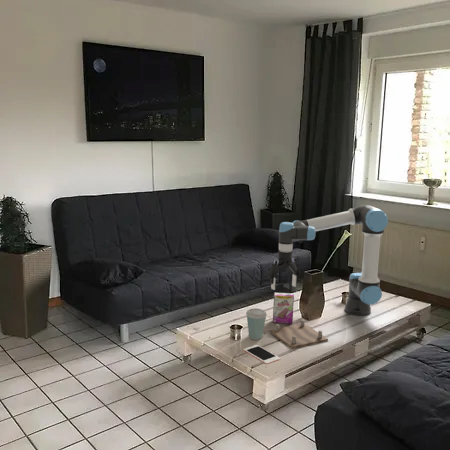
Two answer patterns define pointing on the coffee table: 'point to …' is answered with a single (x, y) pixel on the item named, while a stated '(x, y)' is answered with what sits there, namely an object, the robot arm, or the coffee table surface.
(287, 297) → the candy bar box
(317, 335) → the pin dock
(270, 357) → the cell phone
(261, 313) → the disposable coffee cup
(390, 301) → the coffee table surface
